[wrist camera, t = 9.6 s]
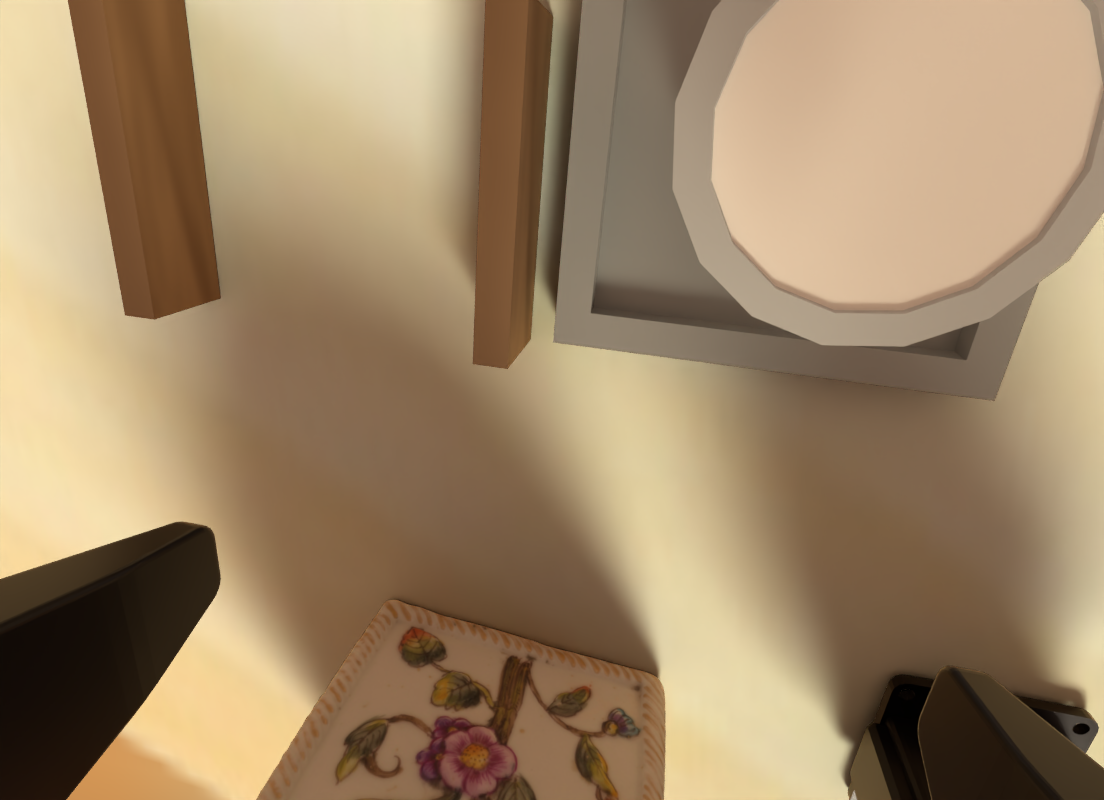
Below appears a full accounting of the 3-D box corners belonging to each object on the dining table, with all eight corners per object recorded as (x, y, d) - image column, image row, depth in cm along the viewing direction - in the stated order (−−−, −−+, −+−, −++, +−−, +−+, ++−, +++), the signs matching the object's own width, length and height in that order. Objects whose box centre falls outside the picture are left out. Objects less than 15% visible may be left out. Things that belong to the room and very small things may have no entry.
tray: (1151, -134, 14) (1209, -169, 12) (968, 380, 18) (994, 400, 17) (605, -147, 15) (597, -178, 14) (562, 328, 20) (553, 342, 18)
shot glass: (647, 252, 18) (630, 308, 11) (709, -33, 15) (732, -169, 9) (897, 300, 17) (1029, 388, 11) (1009, 8, 14) (1275, -106, 8)
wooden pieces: (553, 16, 17) (528, -10, 14) (530, 339, 20) (507, 369, 17) (153, -8, 18) (61, -35, 16) (194, 294, 22) (125, 315, 19)
